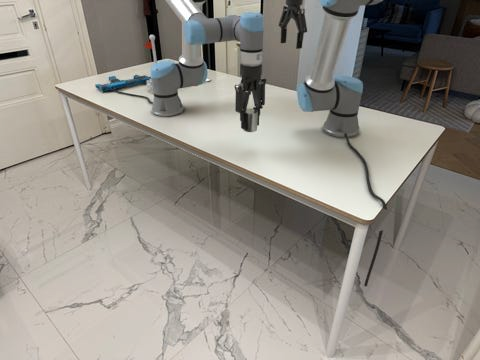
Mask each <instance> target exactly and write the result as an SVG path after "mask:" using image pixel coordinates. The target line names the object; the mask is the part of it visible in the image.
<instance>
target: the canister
mask: <svg viewBox="0 0 480 360" xmlns="http://www.w3.org/2000/svg"><path fill="white" fill-rule="evenodd" d="M246 113H248V128H247V130H244V129H242V130H243V131H244V132H245V133H255V132H256V131H258V126H257V120H258V111H257V110H256V109H253V107H252V108H249V107H248V108H247V110H246Z"/></svg>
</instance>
